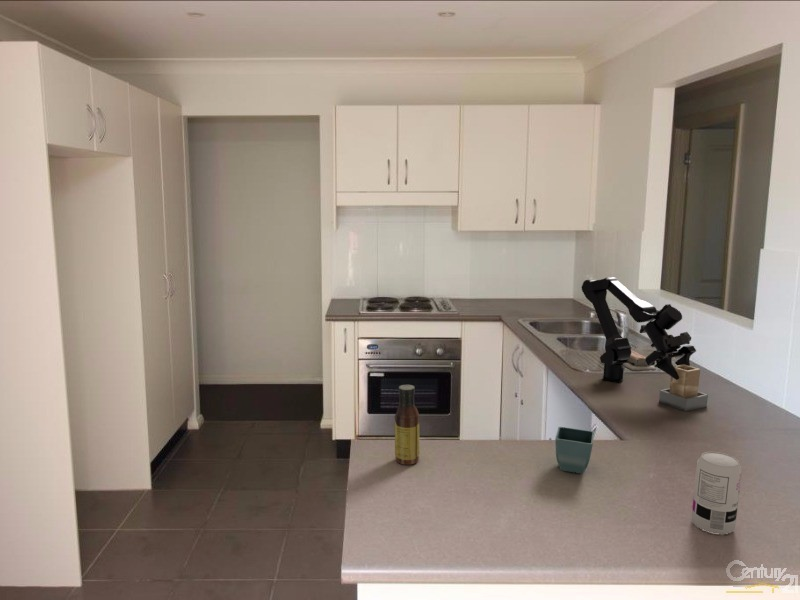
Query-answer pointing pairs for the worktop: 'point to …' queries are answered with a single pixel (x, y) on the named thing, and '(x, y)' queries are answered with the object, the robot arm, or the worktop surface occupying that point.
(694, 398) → the grey square tray
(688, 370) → the tall pine crate
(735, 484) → the supplement can
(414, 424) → the sauce bottle
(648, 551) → the worktop surface
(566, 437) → the flower pot
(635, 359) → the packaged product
